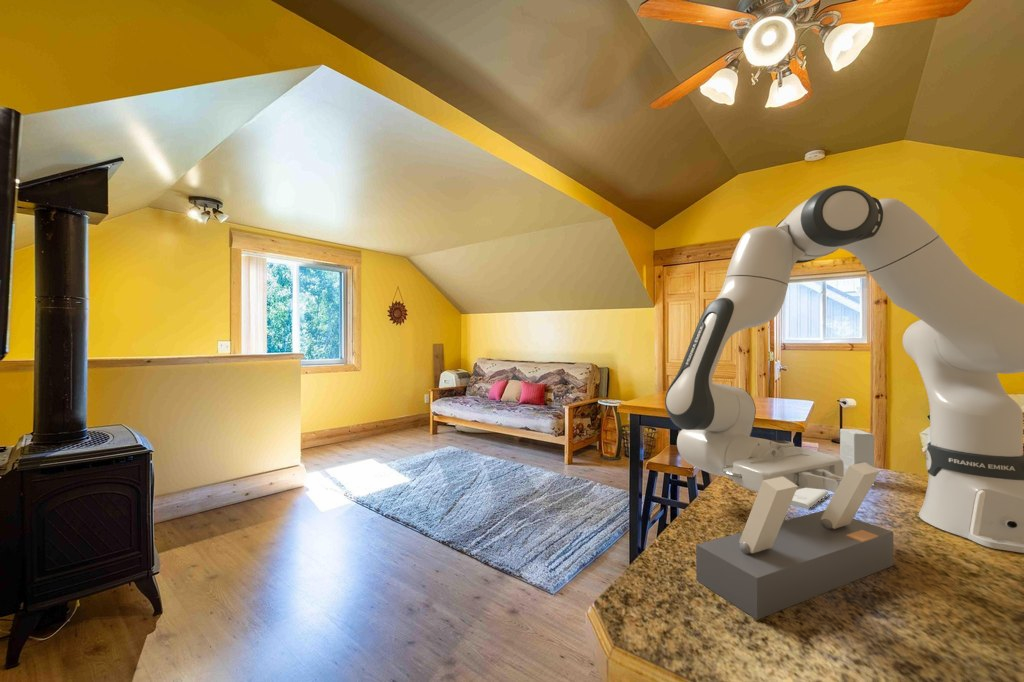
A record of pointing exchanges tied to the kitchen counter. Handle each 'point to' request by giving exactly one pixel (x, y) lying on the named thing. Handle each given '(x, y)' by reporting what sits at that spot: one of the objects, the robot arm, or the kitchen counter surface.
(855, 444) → the skincare box
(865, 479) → the lever
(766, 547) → the lever
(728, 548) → the switch box
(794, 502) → the external hard drive
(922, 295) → the robot arm
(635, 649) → the kitchen counter surface
